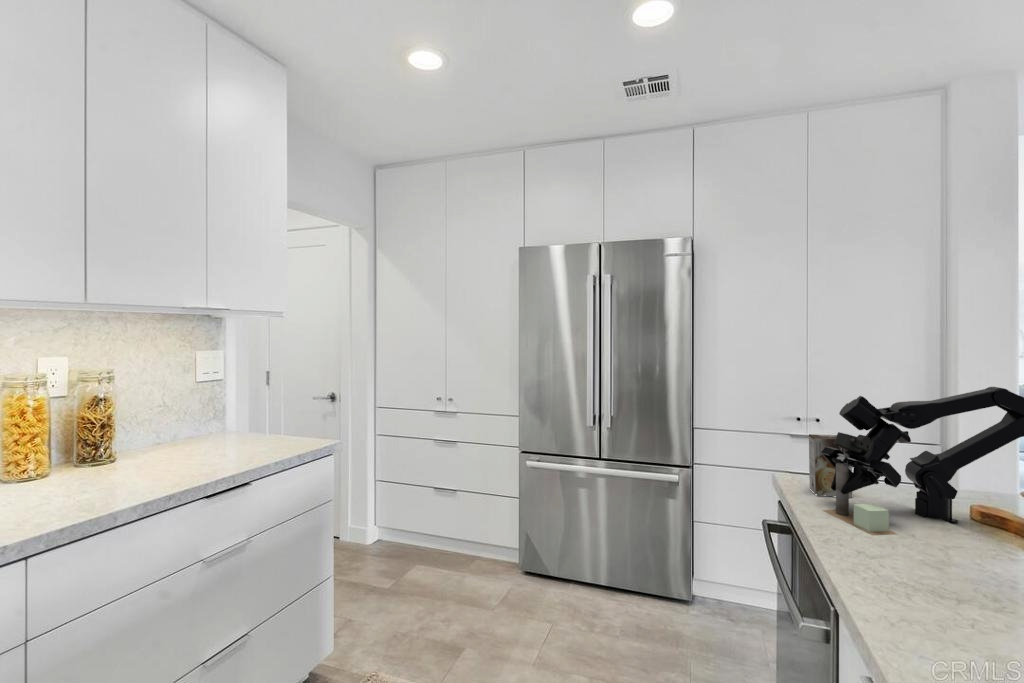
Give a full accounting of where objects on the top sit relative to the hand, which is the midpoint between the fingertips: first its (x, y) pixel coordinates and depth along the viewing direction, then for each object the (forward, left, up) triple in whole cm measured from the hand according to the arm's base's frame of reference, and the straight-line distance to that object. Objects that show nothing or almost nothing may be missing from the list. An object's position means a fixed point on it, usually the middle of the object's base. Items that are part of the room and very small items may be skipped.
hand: (837, 491), depth 125 cm
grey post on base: (-1, +5, -7) cm, 8 cm away
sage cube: (-1, +9, -6) cm, 11 cm away
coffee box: (-11, -18, -7) cm, 23 cm away
